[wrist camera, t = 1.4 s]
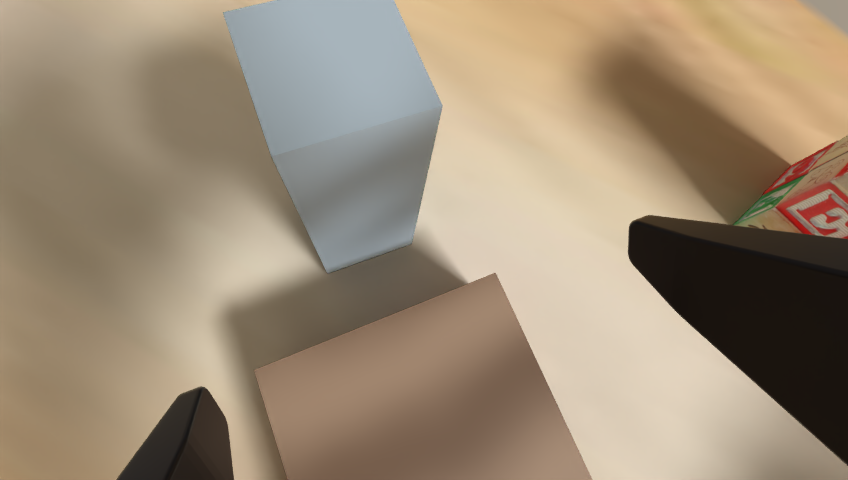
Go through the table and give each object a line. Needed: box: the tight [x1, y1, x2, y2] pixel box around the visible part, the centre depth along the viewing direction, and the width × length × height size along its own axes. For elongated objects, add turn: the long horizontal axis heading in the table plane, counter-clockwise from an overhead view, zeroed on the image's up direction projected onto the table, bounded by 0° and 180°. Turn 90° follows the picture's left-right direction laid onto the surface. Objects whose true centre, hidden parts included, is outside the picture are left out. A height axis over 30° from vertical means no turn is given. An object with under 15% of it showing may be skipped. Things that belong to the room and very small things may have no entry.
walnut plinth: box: [254, 273, 592, 480], centre depth 18 cm, size 10×10×4 cm
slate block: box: [223, 0, 442, 274], centre depth 17 cm, size 4×4×12 cm
